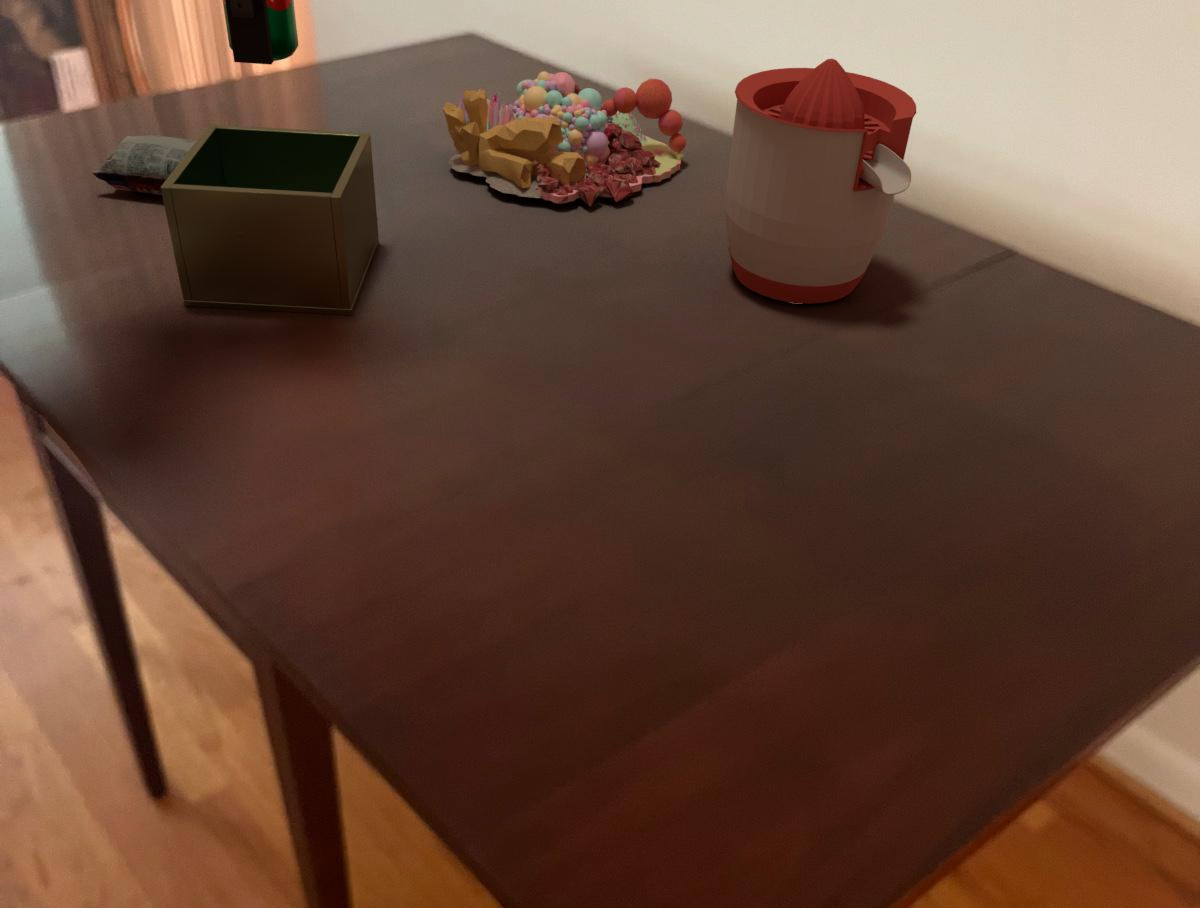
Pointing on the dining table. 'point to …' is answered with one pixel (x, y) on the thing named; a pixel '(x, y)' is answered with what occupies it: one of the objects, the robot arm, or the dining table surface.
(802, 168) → the citrus juicer
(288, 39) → the soda can
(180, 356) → the dining table surface
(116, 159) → the packaged food
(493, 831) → the dining table surface
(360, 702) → the dining table surface
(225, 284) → the bin
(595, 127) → the food platter
